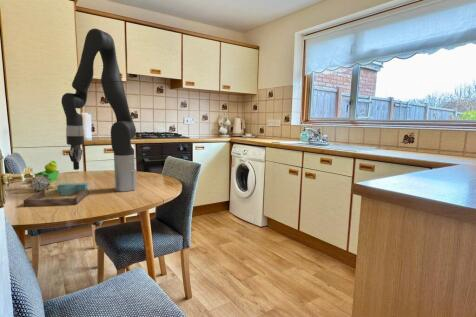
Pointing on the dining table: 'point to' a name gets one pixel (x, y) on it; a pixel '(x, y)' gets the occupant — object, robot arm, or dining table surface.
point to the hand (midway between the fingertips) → (76, 169)
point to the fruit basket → (50, 171)
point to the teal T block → (71, 188)
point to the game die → (40, 182)
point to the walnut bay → (53, 200)
